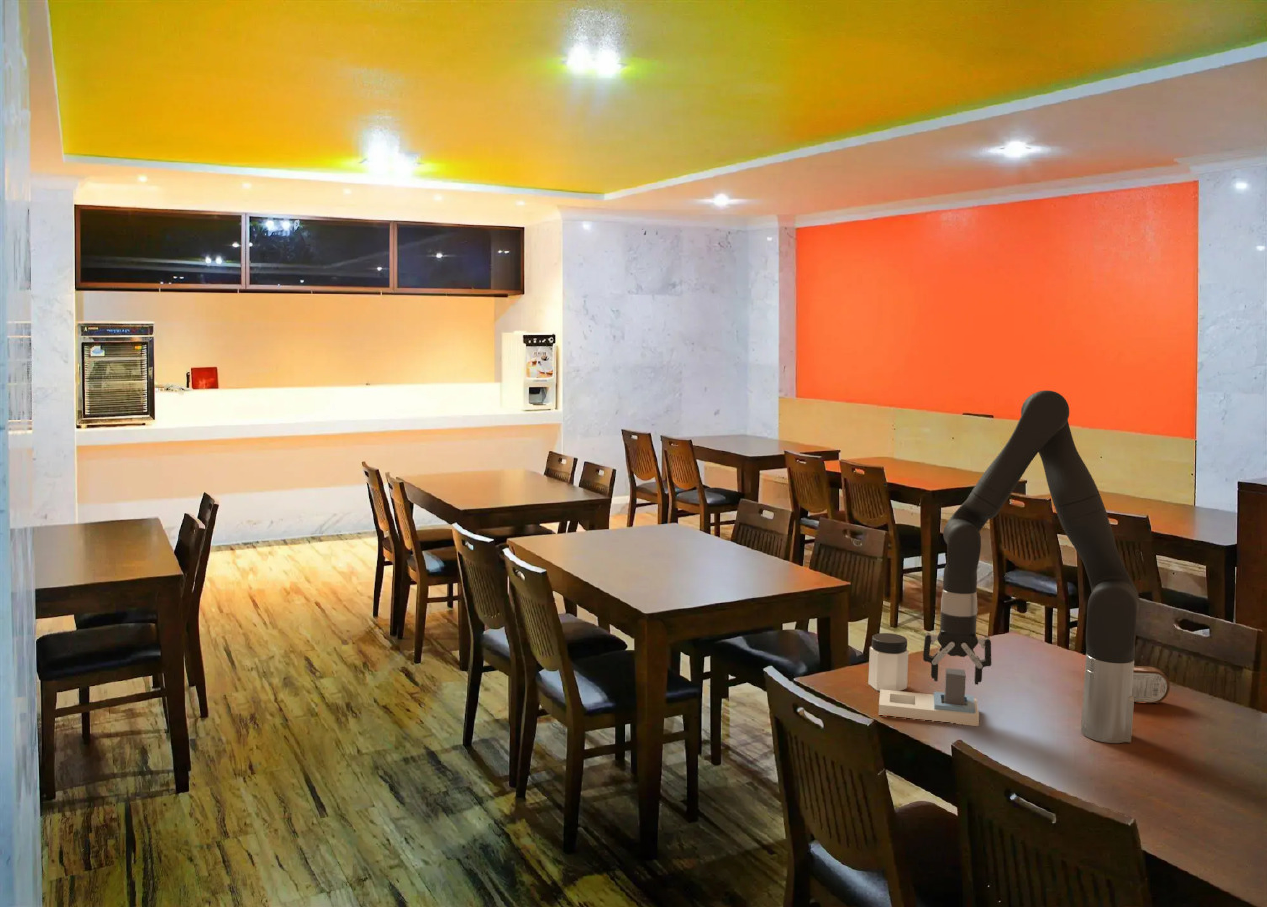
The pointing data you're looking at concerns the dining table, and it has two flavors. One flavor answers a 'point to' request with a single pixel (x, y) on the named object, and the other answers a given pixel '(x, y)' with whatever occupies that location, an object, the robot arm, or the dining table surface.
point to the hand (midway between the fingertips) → (955, 681)
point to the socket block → (928, 707)
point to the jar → (888, 662)
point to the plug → (954, 686)
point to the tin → (1149, 685)
